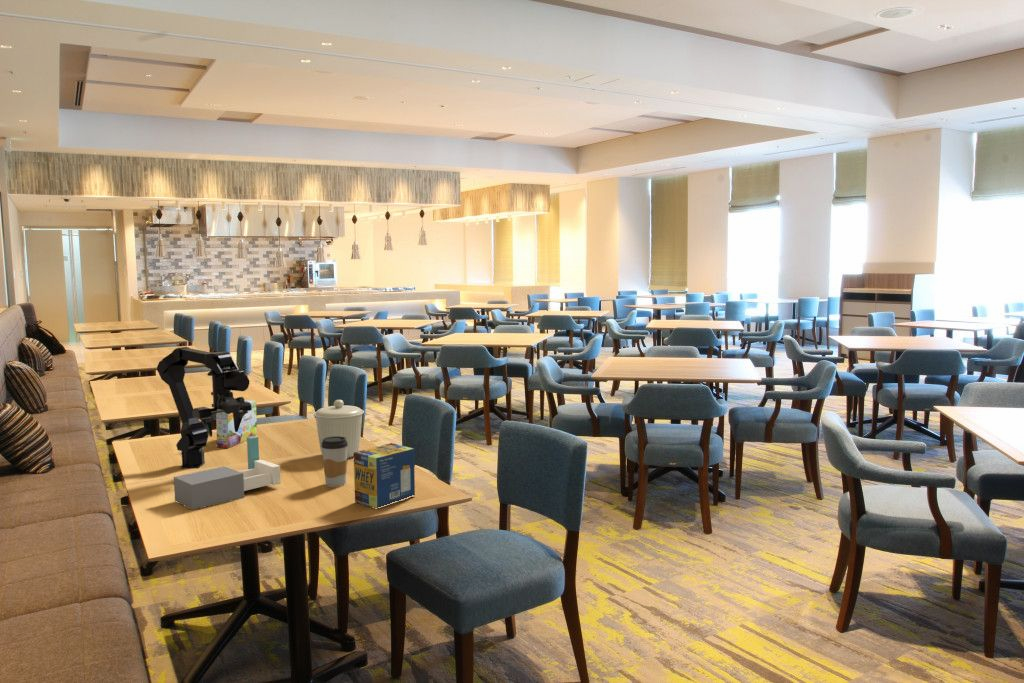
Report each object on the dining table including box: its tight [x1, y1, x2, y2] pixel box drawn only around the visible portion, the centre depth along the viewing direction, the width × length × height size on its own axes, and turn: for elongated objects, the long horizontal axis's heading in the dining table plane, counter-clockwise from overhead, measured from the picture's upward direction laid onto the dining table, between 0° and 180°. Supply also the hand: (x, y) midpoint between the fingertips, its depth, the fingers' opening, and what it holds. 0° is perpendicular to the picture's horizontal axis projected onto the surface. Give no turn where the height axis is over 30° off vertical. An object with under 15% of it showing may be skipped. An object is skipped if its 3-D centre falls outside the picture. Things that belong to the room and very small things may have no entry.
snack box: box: [215, 400, 258, 449], centre depth 307 cm, size 21×6×15 cm, turn 168°
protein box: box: [353, 442, 416, 509], centre depth 232 cm, size 10×15×16 cm
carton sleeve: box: [173, 465, 245, 510], centre depth 234 cm, size 16×12×8 cm
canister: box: [313, 399, 365, 459], centre depth 284 cm, size 18×18×21 cm
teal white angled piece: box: [239, 436, 281, 492], centre depth 244 cm, size 17×16×13 cm
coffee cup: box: [321, 436, 348, 488], centre depth 248 cm, size 8×8×15 cm
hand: (223, 434), depth 264 cm, fingers open, 9 cm apart
